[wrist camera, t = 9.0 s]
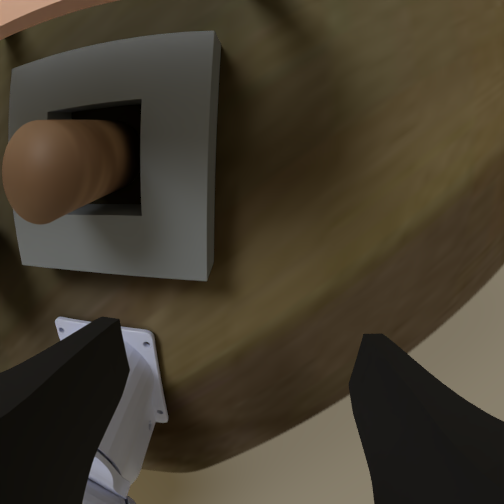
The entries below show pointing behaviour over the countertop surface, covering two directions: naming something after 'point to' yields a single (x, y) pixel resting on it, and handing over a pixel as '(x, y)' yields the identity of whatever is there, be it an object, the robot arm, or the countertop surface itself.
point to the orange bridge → (37, 12)
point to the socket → (151, 154)
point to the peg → (67, 165)
